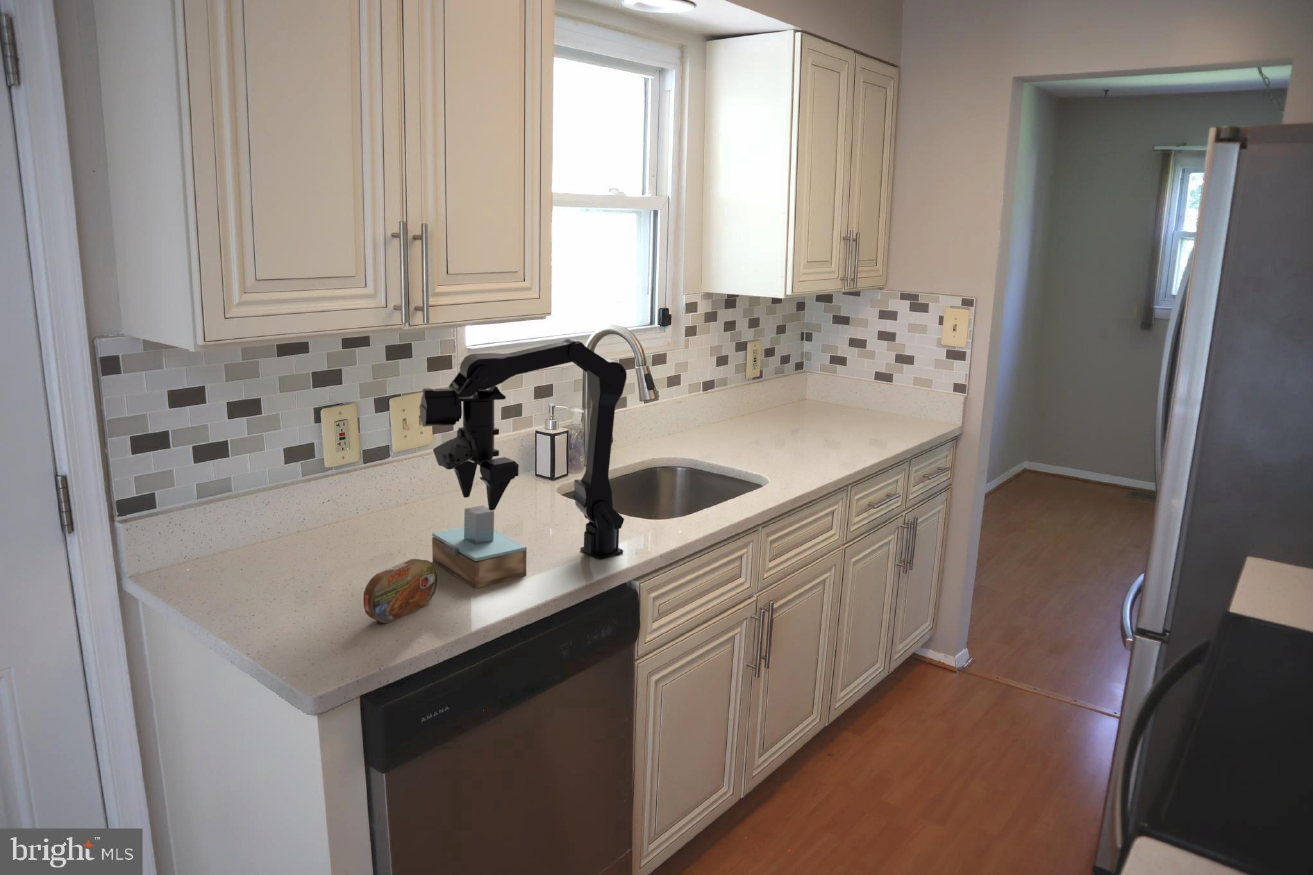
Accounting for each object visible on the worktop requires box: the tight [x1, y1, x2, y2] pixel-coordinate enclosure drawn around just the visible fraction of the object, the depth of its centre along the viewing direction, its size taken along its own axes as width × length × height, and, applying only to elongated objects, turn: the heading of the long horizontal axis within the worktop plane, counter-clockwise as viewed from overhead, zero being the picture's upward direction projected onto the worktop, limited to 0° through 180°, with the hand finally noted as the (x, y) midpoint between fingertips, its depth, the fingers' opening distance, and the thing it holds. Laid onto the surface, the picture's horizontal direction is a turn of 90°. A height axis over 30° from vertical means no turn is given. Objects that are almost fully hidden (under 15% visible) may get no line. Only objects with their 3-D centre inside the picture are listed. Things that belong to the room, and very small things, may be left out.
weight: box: [463, 505, 495, 545], centre depth 174 cm, size 4×4×6 cm
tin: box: [363, 558, 439, 624], centre depth 156 cm, size 15×3×8 cm, turn 150°
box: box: [431, 536, 528, 589], centre depth 176 cm, size 11×16×5 cm
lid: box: [431, 526, 527, 561], centre depth 175 cm, size 12×16×1 cm
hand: (479, 503), depth 174 cm, fingers open, 9 cm apart
